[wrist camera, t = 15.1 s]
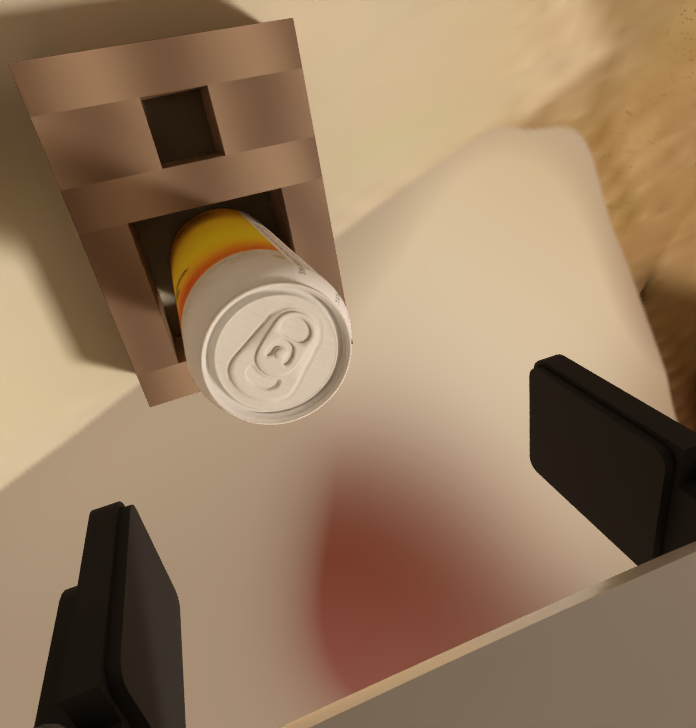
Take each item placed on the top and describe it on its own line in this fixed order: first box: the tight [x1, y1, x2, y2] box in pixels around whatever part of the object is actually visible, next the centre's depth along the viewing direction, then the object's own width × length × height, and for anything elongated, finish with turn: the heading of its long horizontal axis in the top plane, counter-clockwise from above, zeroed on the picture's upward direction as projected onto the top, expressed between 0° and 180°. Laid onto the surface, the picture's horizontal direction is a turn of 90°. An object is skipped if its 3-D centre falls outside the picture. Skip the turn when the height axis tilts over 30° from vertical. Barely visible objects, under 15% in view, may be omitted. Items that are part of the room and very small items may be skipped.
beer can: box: [170, 208, 352, 425], centre depth 24 cm, size 6×6×15 cm
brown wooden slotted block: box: [8, 18, 353, 407], centre depth 28 cm, size 12×17×4 cm
